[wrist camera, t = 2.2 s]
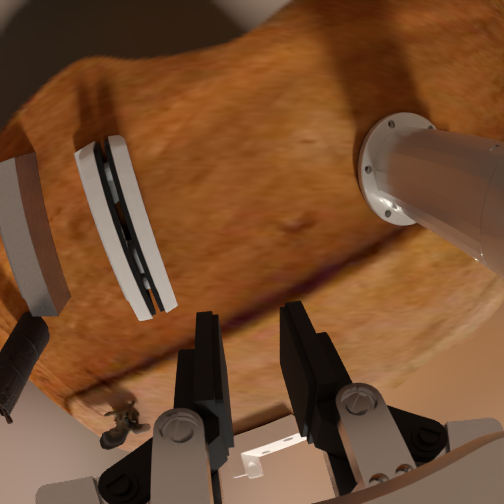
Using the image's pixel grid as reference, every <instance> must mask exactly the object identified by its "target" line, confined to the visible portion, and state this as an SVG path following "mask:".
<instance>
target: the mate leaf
mask: <svg viewBox="0 0 504 504" xmlns="http://www.w3.org/2000/svg"><path fill="white" fill-rule="evenodd" d="M0 234H1V237H2V241H3V244H4V247H5V251H6V254H7V257H8V260H9V263H10V266H11V269H12V272H13V274H14V277H15V280H16V282H17V285H18V288H19V290H20V293H21V295H22V298H23V299H25V300H26V303H27V305H28V307H29V310H30V312H31V314H32V316H59V314H60V313H61V311H62V310H63V308H64V306H65V305H66V303H67V302H68V301H69V299H70V298H71V295H70V292H69V289H68V287H67V284H66V281H65V278H64V275H63V272H62V269H61V266H60V262H59V259H58V256H57V252H56V249H55V246H54V242H53V238H52V235H51V231H50V227H49V223H48V219H47V214H46V210H45V205H44V200H43V196H42V190H41V185H40V179H39V173H38V167H37V160H36V152H33V153H29V154H25V155H21V156H18V157H14V158H11V159H9V160H6V161H3V162H1V163H0Z"/></svg>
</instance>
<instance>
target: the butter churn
mask: <svg viewBox="0 0 504 504" xmlns="http://www.w3.org/2000/svg"><path fill="white" fill-rule="evenodd" d="M48 341H49V333H48V327H47V325H46V323H45V322H44V321H43V320H42V319H41V317H39V316H32V314H31V313H29V312H26V313H24V314H23V315H22V316H21V317H20V319H19V321H18V323H17V324H16V326H15V328H14V329H13V331H12V333H11V334H10V336H9V338H8V339H7V341H6V343H5V344H4V346H3V348H2V349H1V351H0V414H1V415H2V416H5V418H6V421H7V423H8V424H11V423H12V422H13V421H12V419H11V417H10V413H11V411H12V409H13V408H14V406H15V404H16V403H17V401H18V399H19V396H20V394H21V392H22V390H23V388H24V385H26V382H27V380H28V378H29V376H30V374H31V371H32V369H33V367H34V365H35V364H36V362H37V360H38V359H39V357H40V355H41V353H42V351H43V350H44V348H45V347H46V345H47V343H48Z"/></svg>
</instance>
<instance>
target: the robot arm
mask: <svg viewBox="0 0 504 504" xmlns="http://www.w3.org/2000/svg"><path fill="white" fill-rule="evenodd" d="M388 123H389V125H388ZM365 167H366V170H365ZM358 179H359V185H360V189H361V192H362V195H363V197H364V199H365V201H366V203H367V204H368V206H369V207H370V208H371V210H372V211H373V212H374V213H376V214H377V215H378V216H379V217H381V218H382V219H384V220H385V221H387V222H390V223H392V224H396V225H411V224H414V223H419V224H421V225H422V226H424V227H426V228H427V229H429V230H431V231H432V232H434V233H436V234H437V235H439V236H440V237H442V238H444V239H445V240H447V241H448V242H450V243H452V244H453V245H455V246H456V247H458V248H459V249H461V250H462V251H464V252H465V253H467V254H468V255H470V256H471V257H473V258H474V259H476V260H477V261H479V262H480V263H482V264H483V265H484V266H486V267H487V268H489V269H490V270H492V271H493V272H495V273H496V274H498V275H499V276H500V277H502V278H504V142H503V141H499V140H494V139H489V138H484V137H479V136H474V135H468V134H462V133H456V132H449V131H442V130H437V128H436V127H435V126H434V125H433V124H432V123H431V122H430V121H429V120H428V119H426V118H424V117H422V116H420V115H418V114H414V113H407V112H401V113H393V114H390V115H388V116H385V117H384V118H382V119H381V120H379V121H378V122H377V123H376V124H375V125H374V126H373V127H372V128H371V129H370V131H369V132H368V134H367V135H366V137H365V139H364V142H363V144H362V146H361V150H360V154H359V158H358ZM280 365H281V370H282V373H283V377H284V380H285V384H286V387H287V391H288V394H289V398H290V401H291V405H292V409H293V412H294V416H295V419H296V423H297V426H298V430H299V433H300V436H301V438H302V437H306V438H307V442H308V444H311V443H314V445H315V447H316V448H318V449H321V450H323V455H324V459H325V462H326V466H327V469H328V473H329V476H330V480H331V483H332V486H333V490H334V494H335V497H336V498H333V499H329V500H325V501H321V502H317V503H313V504H504V431H503V428H502V425H501V424H500V423H499V421H498V420H496V419H494V418H482V419H473V420H464V421H452V422H447V423H446V424H445V425H441V424H440V423H439V422H437V421H435V420H432V419H429V418H426V417H422V416H419V415H416V414H413V413H409V412H406V411H403V410H400V409H397V408H394V407H391V406H388V405H386V403H385V401H384V399H383V397H382V395H381V394H380V392H379V391H378V390H377V389H376V388H374V387H373V386H371V385H368V384H366V383H352V381H351V379H350V377H349V375H348V373H347V371H346V369H345V367H344V365H343V363H342V361H341V359H340V357H339V355H338V353H337V351H336V349H335V347H334V345H333V343H332V341H331V339H330V337H329V335H328V334H327V333H326V332H322V333H316V332H315V330H314V328H313V325H312V323H311V321H310V319H309V317H308V315H307V313H306V311H305V309H304V306H303V304H302V302H301V301H294V302H286V303H285V307H280ZM229 448H234V437H233V427H232V418H231V408H230V397H229V387H228V376H227V367H226V361H225V355H224V349H223V342H222V336H221V329H220V323H219V316H218V314H217V315H213V314H212V311H207V312H197V314H196V332H195V349H181V350H179V353H178V362H177V372H176V383H175V396H174V409H170V410H168V411H166V412H164V413H163V414H161V415H160V416H159V417H158V419H157V420H156V421H155V424H154V429H153V437H152V438H150V439H149V440H148V441H146V442H145V443H144V444H142V445H141V446H140V447H138V448H137V449H135V450H134V451H133V452H131V453H130V454H129V455H127V456H126V457H124V458H123V459H122V460H120V461H119V462H117V463H116V464H114V465H113V466H111V467H110V468H108V469H107V470H106V471H105V472H104V473H103V474H102V475H101V477H98V478H93V477H92V476H90V477H86V478H81V479H76V480H71V481H65V482H59V483H53V484H47V485H44V486H41V487H40V488H39V489H38V491H37V493H36V504H224V497H223V490H222V481H221V473H220V467H221V466H222V465H223V464H224V463H225V462H226V461H227V460H228V458H227V456H229Z"/></svg>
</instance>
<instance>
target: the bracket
mask: <svg viewBox="0 0 504 504" xmlns="http://www.w3.org/2000/svg"><path fill="white" fill-rule="evenodd" d="M233 437H234V448H229V456H227V458H228V463H229V467H230V471H231V474H232V478H237V477H241V476H245V475H248V477H249V479H252V478H256V477H259V476H262V475H264V474H263V470H262V467H261V464H260V460H259V456H263V455H266V454H269V453H272V452H274V451H277V450H280V449H283V448H286V447H288V446H291V445H294V444H296V443H299V442H301V441H304V440H306V439H307V438H306V437H302V438H301V436H300V433H299V430H298V426H297V423H296V419H295V416H293V415H292V414H291V415H289V416H286V417H284V418H281V419H279V420H276V421H274V422H271V423H269V424H266V425H264V426H261V427H258V428H255V429H253V430H250V431H247V432H244V433H241V434H238V435H235V436H233Z"/></svg>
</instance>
